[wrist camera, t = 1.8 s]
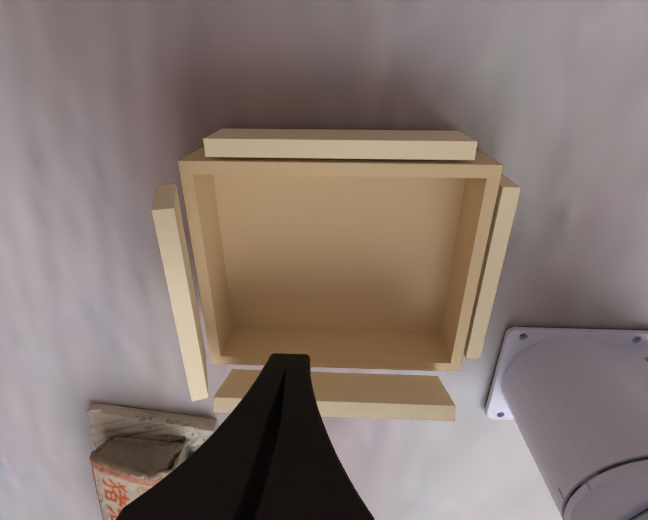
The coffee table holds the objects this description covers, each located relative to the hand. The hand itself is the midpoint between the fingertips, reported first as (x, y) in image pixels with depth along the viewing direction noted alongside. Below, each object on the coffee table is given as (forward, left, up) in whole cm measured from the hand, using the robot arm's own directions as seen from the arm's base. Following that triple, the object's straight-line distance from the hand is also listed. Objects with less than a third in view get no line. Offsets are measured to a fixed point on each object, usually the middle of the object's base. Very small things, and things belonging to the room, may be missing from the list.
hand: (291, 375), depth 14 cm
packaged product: (+13, +23, -11) cm, 29 cm away
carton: (-1, 0, -10) cm, 11 cm away
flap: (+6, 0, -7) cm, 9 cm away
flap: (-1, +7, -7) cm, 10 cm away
